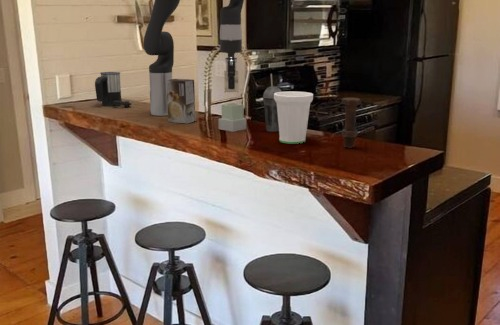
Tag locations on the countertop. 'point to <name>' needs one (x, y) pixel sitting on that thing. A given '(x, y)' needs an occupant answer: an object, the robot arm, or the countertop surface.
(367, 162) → the countertop surface
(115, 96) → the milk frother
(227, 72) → the birch block
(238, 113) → the sage cube
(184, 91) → the coffee box
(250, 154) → the countertop surface
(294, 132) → the cup
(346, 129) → the bolt
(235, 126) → the slab
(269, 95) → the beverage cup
